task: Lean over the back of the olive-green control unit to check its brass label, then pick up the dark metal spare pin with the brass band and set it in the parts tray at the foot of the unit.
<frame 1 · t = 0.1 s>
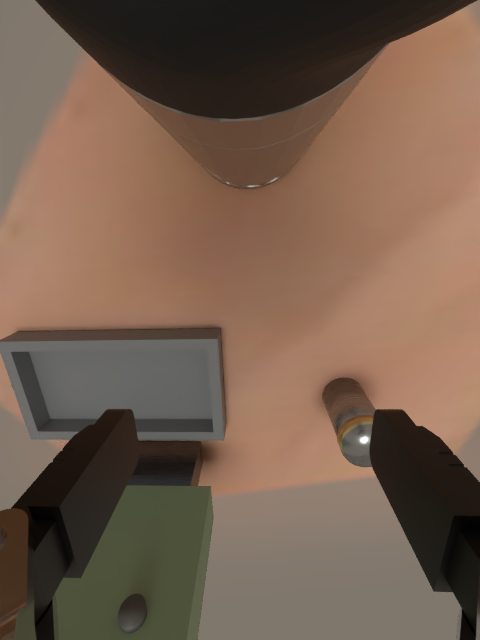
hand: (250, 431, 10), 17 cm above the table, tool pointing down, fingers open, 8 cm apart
parts tray: (127, 379, 29), on the table
spare pin: (342, 395, 29), on the table
control unit: (158, 451, 32), on the table
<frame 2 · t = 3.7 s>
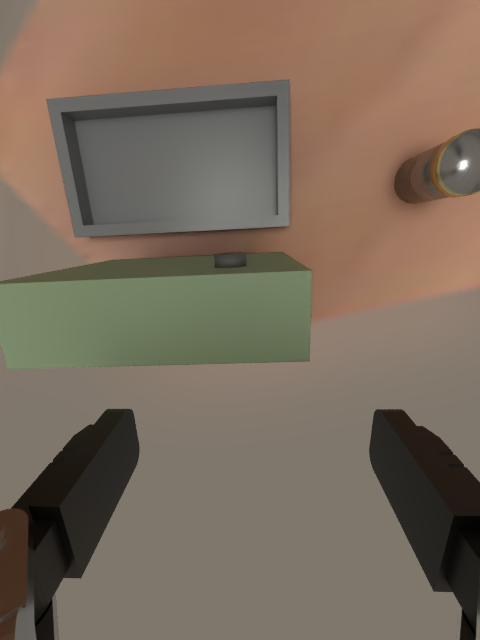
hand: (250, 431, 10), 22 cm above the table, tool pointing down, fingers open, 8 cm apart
parts tray: (180, 171, 27), on the table
spare pin: (416, 180, 26), on the table
control unit: (209, 271, 30), on the table
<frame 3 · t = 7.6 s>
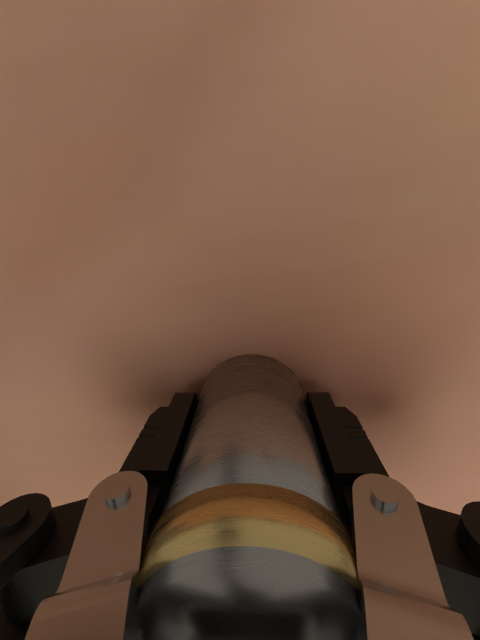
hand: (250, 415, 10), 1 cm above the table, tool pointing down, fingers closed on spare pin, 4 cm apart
spare pin: (251, 401, 11), on the table, touching gripper
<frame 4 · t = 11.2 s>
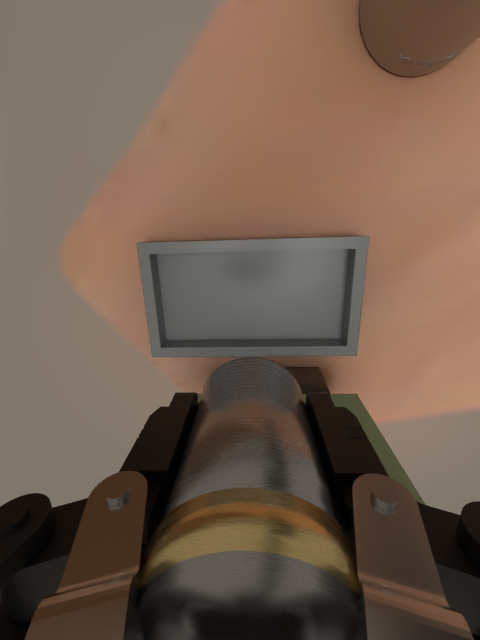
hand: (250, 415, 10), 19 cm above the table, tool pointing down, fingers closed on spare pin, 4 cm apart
parts tray: (251, 295, 29), on the table
spare pin: (251, 403, 11), point 18 cm above the table, touching gripper
control unit: (271, 379, 31), on the table
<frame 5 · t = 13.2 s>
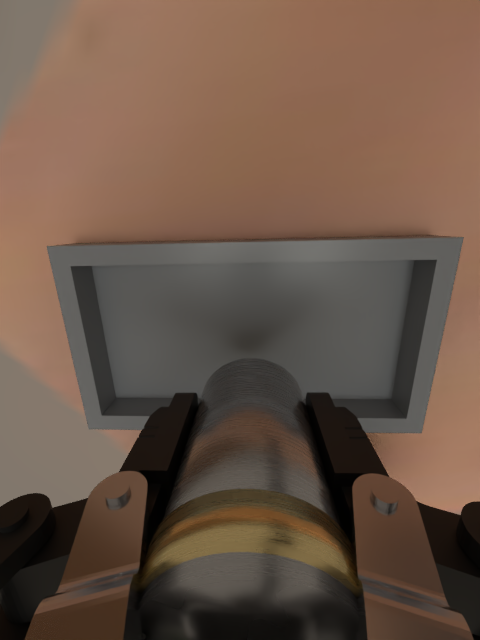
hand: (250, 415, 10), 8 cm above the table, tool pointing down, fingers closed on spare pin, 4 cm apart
parts tray: (249, 330, 18), on the table
spare pin: (251, 404, 11), point 7 cm above the table, touching gripper
when the fingers open (3 cm above the table, at t = 15.1 s): spare pin drops 1 cm, resting on parts tray.
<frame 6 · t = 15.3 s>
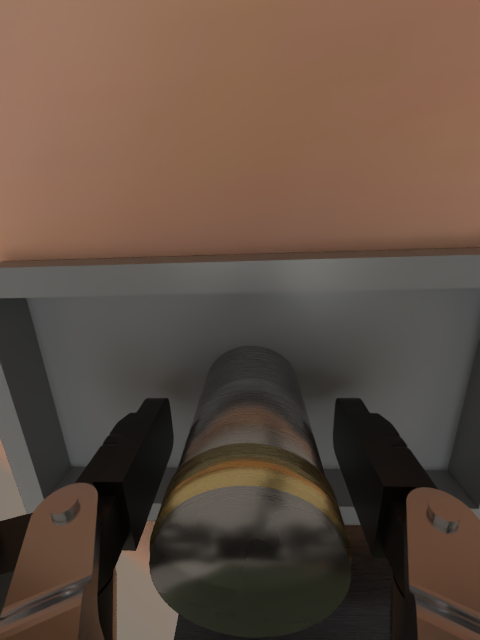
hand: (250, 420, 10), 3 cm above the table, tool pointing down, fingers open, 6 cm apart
parts tray: (251, 378, 13), on the table
spare pin: (251, 388, 12), point 1 cm above the table, touching parts tray
control unit: (291, 532, 16), on the table
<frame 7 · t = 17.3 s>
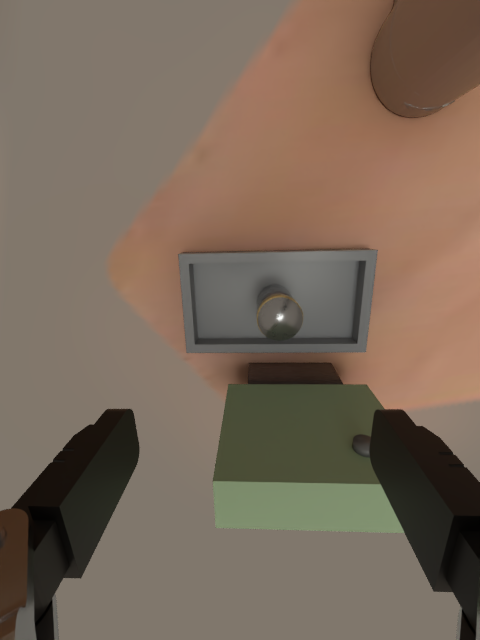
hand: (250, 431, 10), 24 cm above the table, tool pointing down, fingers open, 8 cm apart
parts tray: (273, 299, 33), on the table
spare pin: (274, 301, 32), point 1 cm above the table, touching parts tray
control unit: (289, 373, 35), on the table
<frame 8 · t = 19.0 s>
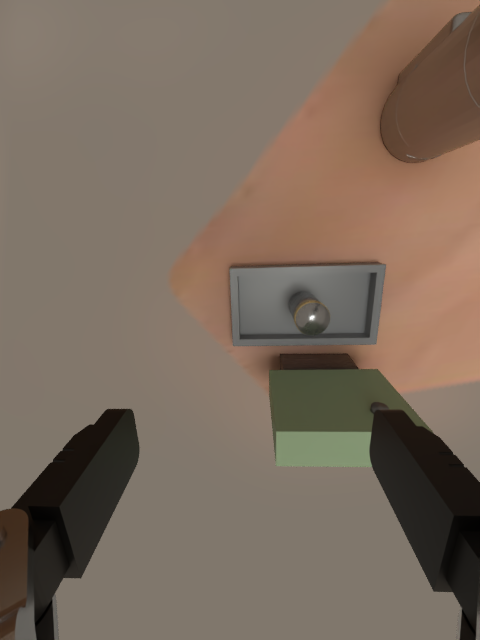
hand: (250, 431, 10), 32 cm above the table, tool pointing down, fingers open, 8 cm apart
parts tray: (302, 303, 41), on the table
spare pin: (302, 304, 40), point 1 cm above the table, touching parts tray
control unit: (313, 362, 44), on the table
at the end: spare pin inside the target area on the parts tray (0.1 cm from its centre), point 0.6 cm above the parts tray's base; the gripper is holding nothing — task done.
